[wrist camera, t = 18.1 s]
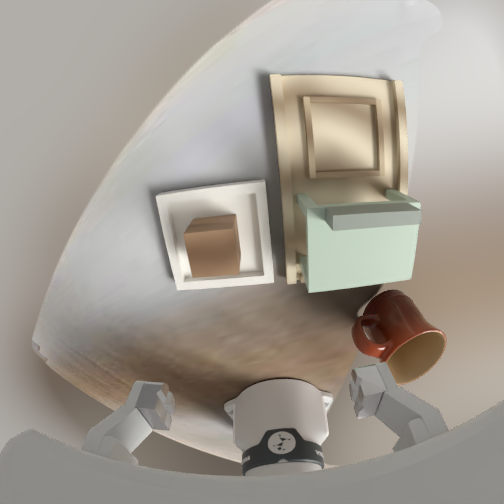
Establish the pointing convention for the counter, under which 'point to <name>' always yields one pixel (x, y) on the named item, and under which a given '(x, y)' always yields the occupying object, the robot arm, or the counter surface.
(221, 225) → the block
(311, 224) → the green stool
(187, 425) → the counter surface
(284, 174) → the board
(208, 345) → the counter surface
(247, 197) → the dish
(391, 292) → the mug
